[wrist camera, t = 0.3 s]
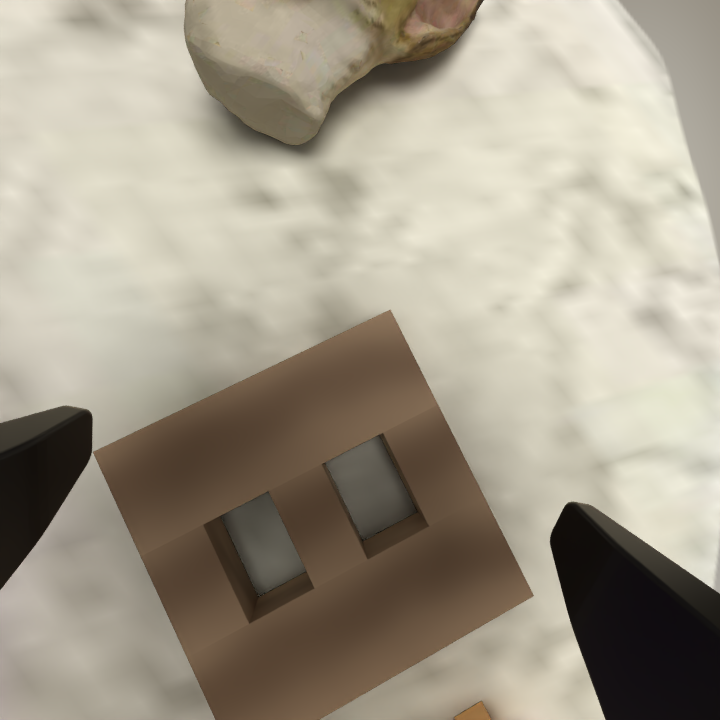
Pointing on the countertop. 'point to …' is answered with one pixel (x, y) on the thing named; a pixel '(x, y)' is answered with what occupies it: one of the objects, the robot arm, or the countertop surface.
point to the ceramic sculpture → (308, 51)
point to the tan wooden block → (474, 713)
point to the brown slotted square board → (312, 530)
